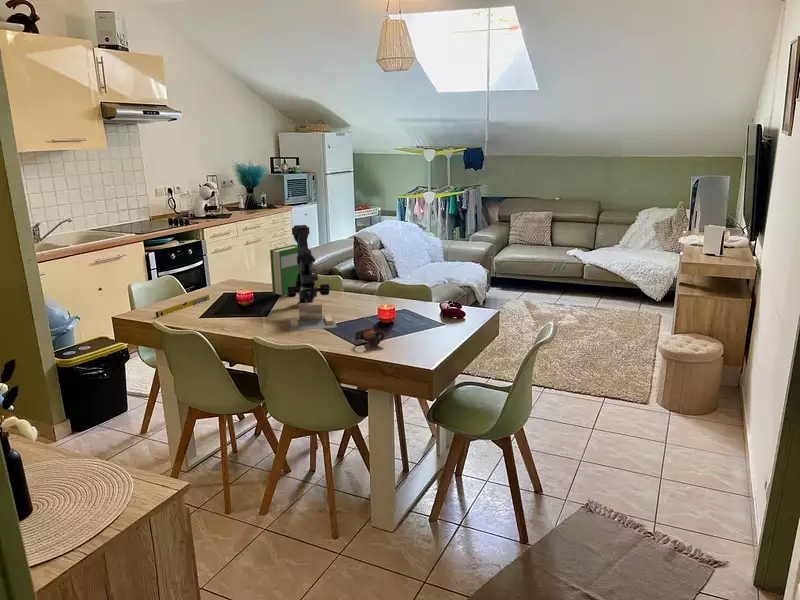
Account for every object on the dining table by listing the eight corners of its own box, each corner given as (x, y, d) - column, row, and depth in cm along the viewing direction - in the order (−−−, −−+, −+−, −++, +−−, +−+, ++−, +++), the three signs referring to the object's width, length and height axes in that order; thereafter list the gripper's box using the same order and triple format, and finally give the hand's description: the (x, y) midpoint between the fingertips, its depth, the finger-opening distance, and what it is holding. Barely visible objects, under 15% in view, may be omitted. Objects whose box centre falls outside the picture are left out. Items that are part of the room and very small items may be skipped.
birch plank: (299, 317, 270) (298, 303, 265) (321, 316, 272) (321, 301, 267) (299, 320, 268) (298, 306, 264) (322, 318, 271) (322, 304, 266)
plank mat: (287, 320, 272) (287, 314, 272) (332, 317, 277) (331, 311, 276) (289, 333, 254) (289, 327, 254) (337, 329, 259) (336, 323, 258)
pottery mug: (358, 352, 233) (352, 332, 235) (359, 355, 242) (353, 335, 244) (388, 343, 234) (381, 323, 235) (388, 346, 243) (382, 326, 245)
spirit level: (158, 318, 279) (157, 312, 279) (156, 317, 280) (155, 311, 279) (209, 300, 308) (208, 295, 308) (207, 300, 309) (206, 294, 308)
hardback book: (283, 296, 313) (280, 251, 307) (272, 295, 317) (269, 249, 311) (306, 289, 327) (304, 245, 321) (296, 287, 331) (293, 244, 325)
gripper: (285, 268, 267) (288, 298, 259) (328, 266, 271) (332, 296, 263) (286, 282, 276) (288, 311, 269) (327, 279, 280) (330, 308, 273)
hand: (310, 306), depth 268 cm, fingers closed
